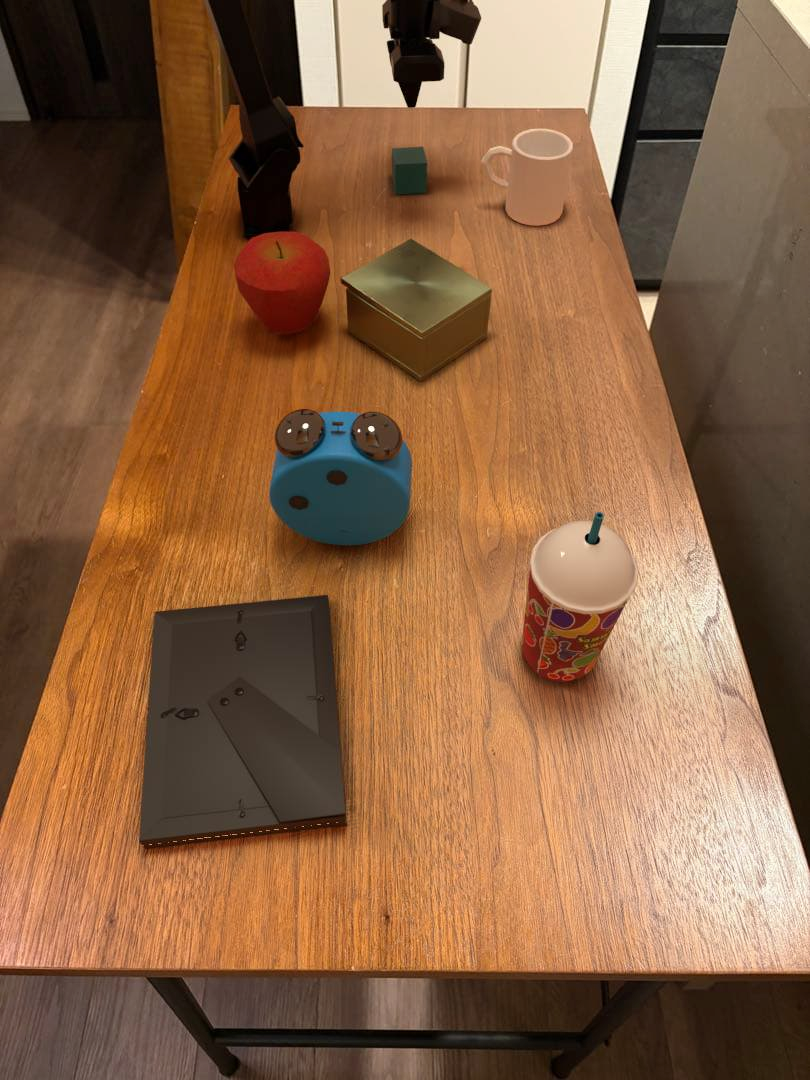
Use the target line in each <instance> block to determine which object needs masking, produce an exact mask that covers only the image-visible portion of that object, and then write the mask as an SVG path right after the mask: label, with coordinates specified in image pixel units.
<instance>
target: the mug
mask: <svg viewBox="0 0 810 1080" xmlns="http://www.w3.org/2000/svg"><path fill="white" fill-rule="evenodd" d="M573 151H574V144H573V141H572V140H571V138H570V137H569V136H567V135H566V134H564V133H562V132H560V131H557V130H554V129H550V128H540V127H539V128H530V129H527V130H523V131H521V132H519V133H518V134H516V135H515V136H514V137H513V139H512V144H511V148H509V147H506V146H503V145H498V146H494V147H491V148H489V149H488V150H487V152H486V153H485V154H484V156H483V158H482V159H481V165H482V167H483V170H484V172H485V176H486V178H487V180H488V181H489V182H491V183H492V184H494V185H495V186H497V187H499V188H502V189H504V190H506V196H505V209H504V210H505V212H506V214H507V216H508V217H509V218H510V219H512V221H515V222H517V223H519V224H522V225H526V226H533V227H534V226H536V227H541V226H547V225H550V224H552V223H555V222H556V221H557V220H559V219H560V217H561V216H562V214H563V210H564V204H565V198H566V193H567V186H568V181H569V175H570V169H571V163H572V159H573V158H572V156H573ZM502 155H504V156H507V157H509V158H510V162H509V171H508V178H507V179H508V180H504V179H502V178H500V177H499V176H498V175H496V174H495V173H494V171H493V168H492V165H491V162H492V160H493V159H494V158H495V157H498V156H502Z"/></svg>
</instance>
